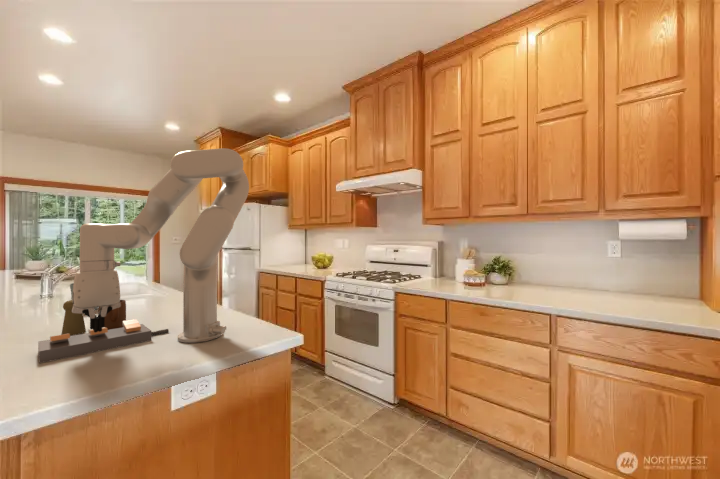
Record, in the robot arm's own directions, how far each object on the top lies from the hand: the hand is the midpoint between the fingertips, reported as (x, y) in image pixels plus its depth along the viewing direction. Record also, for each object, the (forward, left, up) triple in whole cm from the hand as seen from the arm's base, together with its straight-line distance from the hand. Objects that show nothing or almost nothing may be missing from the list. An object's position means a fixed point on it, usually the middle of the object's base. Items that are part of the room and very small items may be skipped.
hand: (97, 330), depth 88 cm
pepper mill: (+23, -10, -5) cm, 25 cm away
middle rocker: (+2, -2, -1) cm, 3 cm away
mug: (+14, -16, -5) cm, 21 cm away
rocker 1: (+6, +5, -1) cm, 8 cm away
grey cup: (+56, -37, -5) cm, 67 cm away
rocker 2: (-2, -9, -1) cm, 9 cm away
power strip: (0, -4, -5) cm, 6 cm away
